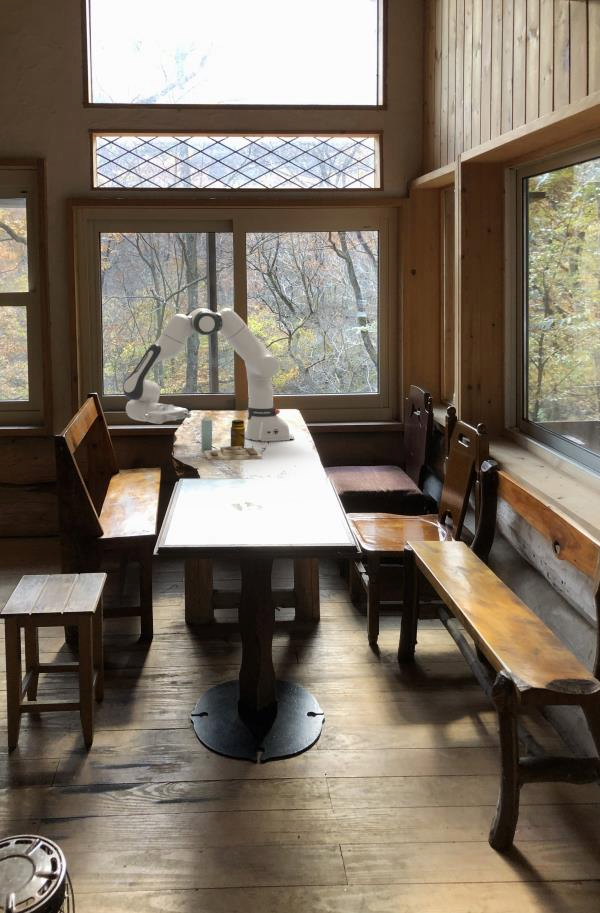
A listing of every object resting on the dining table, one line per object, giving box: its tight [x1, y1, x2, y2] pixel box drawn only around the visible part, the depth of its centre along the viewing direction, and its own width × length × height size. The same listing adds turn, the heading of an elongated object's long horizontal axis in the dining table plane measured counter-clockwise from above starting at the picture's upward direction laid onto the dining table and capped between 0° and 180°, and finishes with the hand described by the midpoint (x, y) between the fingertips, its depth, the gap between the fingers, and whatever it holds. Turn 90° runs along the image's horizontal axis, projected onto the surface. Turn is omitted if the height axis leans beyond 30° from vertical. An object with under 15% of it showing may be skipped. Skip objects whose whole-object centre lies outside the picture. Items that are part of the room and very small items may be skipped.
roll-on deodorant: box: [200, 415, 213, 452], centre depth 384 cm, size 4×4×15 cm
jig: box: [203, 446, 263, 460], centre depth 376 cm, size 22×13×3 cm, turn 104°
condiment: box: [227, 419, 246, 450], centre depth 392 cm, size 7×8×12 cm
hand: (183, 417), depth 389 cm, fingers open, 8 cm apart
